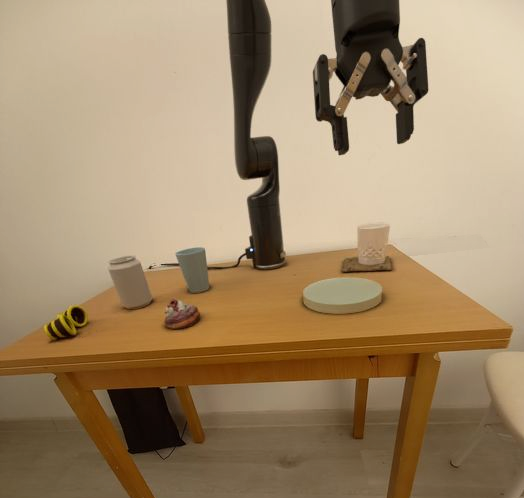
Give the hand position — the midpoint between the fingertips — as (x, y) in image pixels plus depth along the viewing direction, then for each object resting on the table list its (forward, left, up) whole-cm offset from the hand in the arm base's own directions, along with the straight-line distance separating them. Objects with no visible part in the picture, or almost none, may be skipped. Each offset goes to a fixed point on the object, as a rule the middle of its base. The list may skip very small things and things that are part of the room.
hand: (373, 147), depth 40 cm
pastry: (-36, -6, -26) cm, 45 cm away
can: (-56, +1, -26) cm, 62 cm away
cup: (-45, +13, -26) cm, 54 cm away
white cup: (-3, +35, -26) cm, 43 cm away
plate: (-6, +10, -26) cm, 28 cm away
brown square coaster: (-4, +34, -25) cm, 42 cm away
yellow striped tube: (-61, -15, -26) cm, 68 cm away
